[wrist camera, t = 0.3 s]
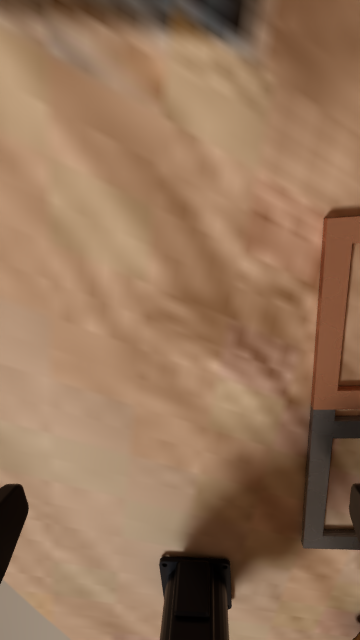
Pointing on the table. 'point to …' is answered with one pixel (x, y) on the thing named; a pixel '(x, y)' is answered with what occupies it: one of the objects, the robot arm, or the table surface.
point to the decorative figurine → (357, 637)
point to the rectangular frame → (329, 384)
